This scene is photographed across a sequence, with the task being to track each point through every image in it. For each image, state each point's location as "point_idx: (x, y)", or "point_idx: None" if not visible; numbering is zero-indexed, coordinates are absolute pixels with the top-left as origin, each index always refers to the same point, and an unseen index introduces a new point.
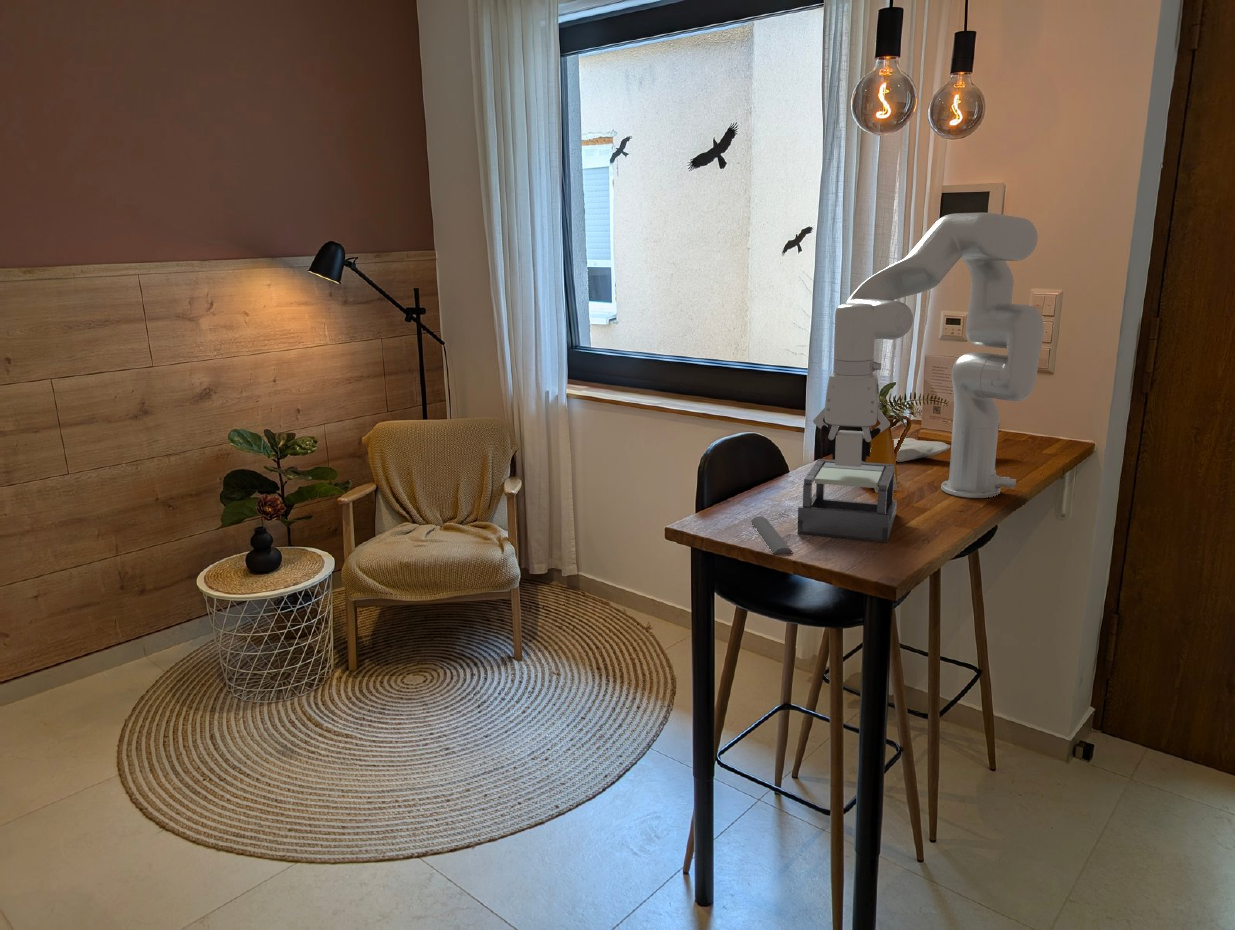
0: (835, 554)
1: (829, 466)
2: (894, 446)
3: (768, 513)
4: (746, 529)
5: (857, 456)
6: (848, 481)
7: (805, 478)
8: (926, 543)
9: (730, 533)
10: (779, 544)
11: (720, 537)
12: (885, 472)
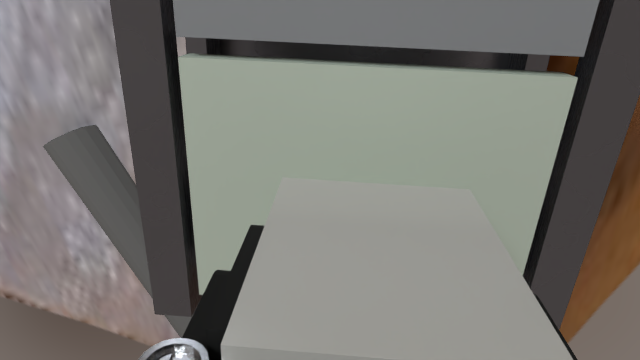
0: None
1: (218, 22)
2: None
3: (57, 26)
4: (65, 211)
5: None
6: None
7: (157, 302)
8: (606, 213)
9: (40, 251)
10: None
11: (32, 284)
12: (597, 96)
